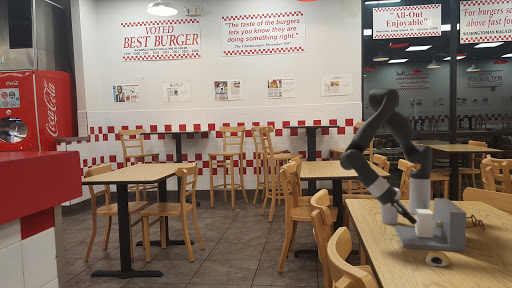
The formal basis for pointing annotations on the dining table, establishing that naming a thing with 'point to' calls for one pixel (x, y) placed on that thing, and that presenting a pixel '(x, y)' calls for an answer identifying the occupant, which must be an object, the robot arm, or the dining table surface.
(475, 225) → the glasses
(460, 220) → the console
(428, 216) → the white box
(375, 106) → the robot arm
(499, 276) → the dining table surface
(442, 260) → the pastry
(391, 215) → the coffee cup
